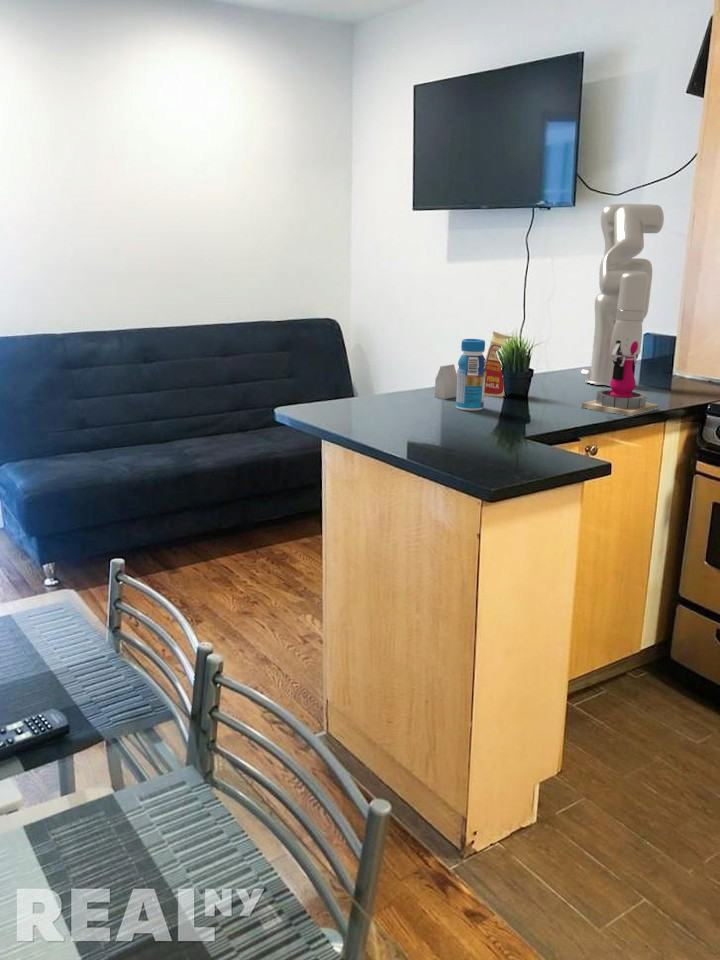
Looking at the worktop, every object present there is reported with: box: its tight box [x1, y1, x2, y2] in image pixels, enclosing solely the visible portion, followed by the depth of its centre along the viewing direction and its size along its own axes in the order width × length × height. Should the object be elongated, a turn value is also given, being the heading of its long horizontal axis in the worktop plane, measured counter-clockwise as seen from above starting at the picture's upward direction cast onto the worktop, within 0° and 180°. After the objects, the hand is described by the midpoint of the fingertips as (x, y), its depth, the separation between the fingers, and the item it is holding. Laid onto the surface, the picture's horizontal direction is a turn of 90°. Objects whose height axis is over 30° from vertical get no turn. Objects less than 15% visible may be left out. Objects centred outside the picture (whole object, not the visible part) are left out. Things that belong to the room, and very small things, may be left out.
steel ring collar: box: [595, 389, 647, 409], centre depth 242 cm, size 14×14×3 cm
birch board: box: [581, 399, 659, 416], centre depth 243 cm, size 16×16×2 cm
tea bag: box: [434, 363, 457, 400], centre depth 255 cm, size 4×7×10 cm, turn 137°
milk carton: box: [484, 330, 516, 398], centre depth 260 cm, size 9×9×20 cm
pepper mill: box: [609, 341, 638, 398], centre depth 240 cm, size 7×7×20 cm
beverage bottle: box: [455, 338, 486, 412], centre depth 237 cm, size 8×8×20 cm
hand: (623, 377), depth 240 cm, fingers closed on pepper mill, 5 cm apart
